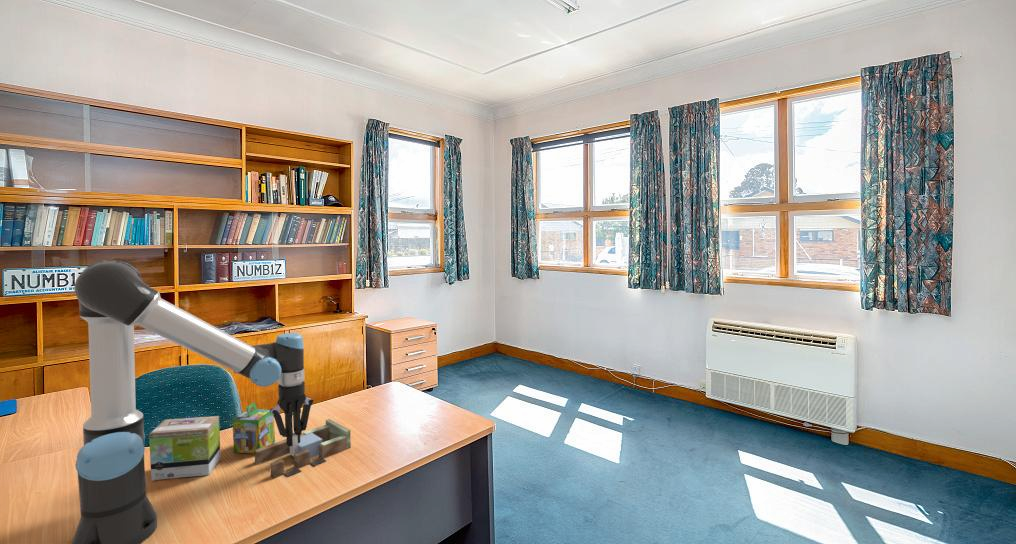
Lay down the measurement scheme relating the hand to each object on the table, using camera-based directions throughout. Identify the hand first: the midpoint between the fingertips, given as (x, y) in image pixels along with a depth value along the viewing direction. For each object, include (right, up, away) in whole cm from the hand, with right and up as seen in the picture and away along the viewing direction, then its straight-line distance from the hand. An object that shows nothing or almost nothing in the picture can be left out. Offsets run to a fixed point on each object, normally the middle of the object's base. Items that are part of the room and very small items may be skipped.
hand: (293, 454), depth 143 cm
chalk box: (-16, -1, +7) cm, 18 cm away
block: (+3, -1, +3) cm, 4 cm away
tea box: (-29, -2, -7) cm, 30 cm away
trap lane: (+3, -1, +2) cm, 4 cm away
